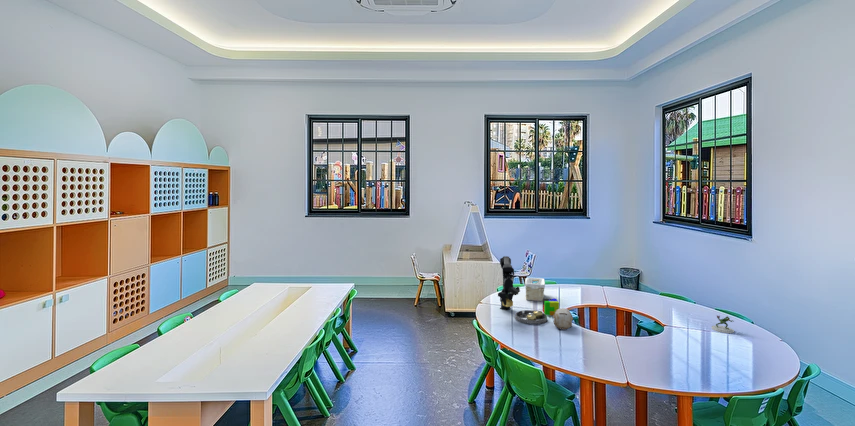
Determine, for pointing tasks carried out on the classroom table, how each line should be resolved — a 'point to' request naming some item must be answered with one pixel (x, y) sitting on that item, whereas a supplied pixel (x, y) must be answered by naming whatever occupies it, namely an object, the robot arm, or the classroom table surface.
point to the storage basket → (535, 289)
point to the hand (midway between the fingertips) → (507, 303)
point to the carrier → (530, 317)
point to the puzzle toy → (550, 306)
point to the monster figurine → (723, 328)
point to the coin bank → (563, 318)
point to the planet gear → (508, 303)
